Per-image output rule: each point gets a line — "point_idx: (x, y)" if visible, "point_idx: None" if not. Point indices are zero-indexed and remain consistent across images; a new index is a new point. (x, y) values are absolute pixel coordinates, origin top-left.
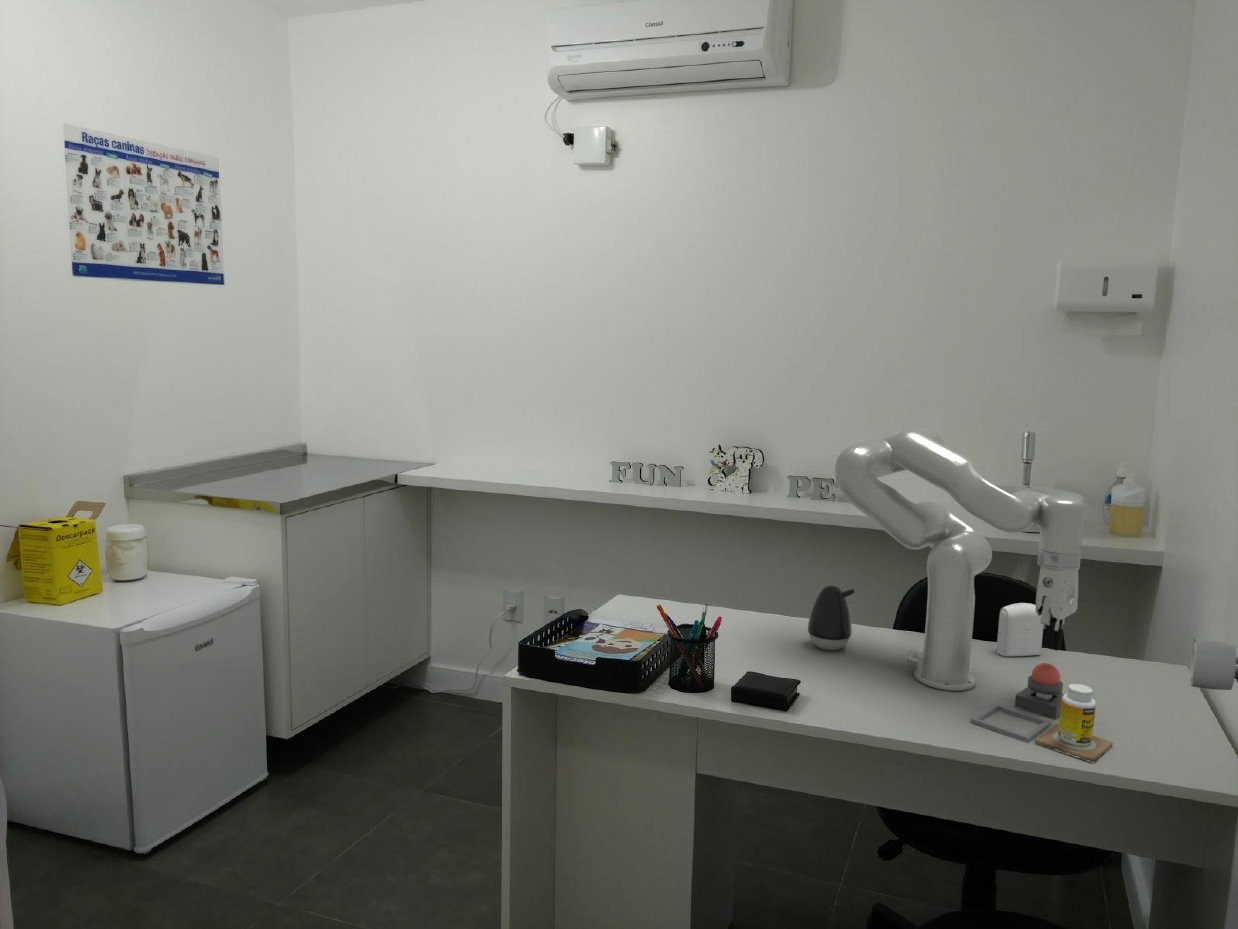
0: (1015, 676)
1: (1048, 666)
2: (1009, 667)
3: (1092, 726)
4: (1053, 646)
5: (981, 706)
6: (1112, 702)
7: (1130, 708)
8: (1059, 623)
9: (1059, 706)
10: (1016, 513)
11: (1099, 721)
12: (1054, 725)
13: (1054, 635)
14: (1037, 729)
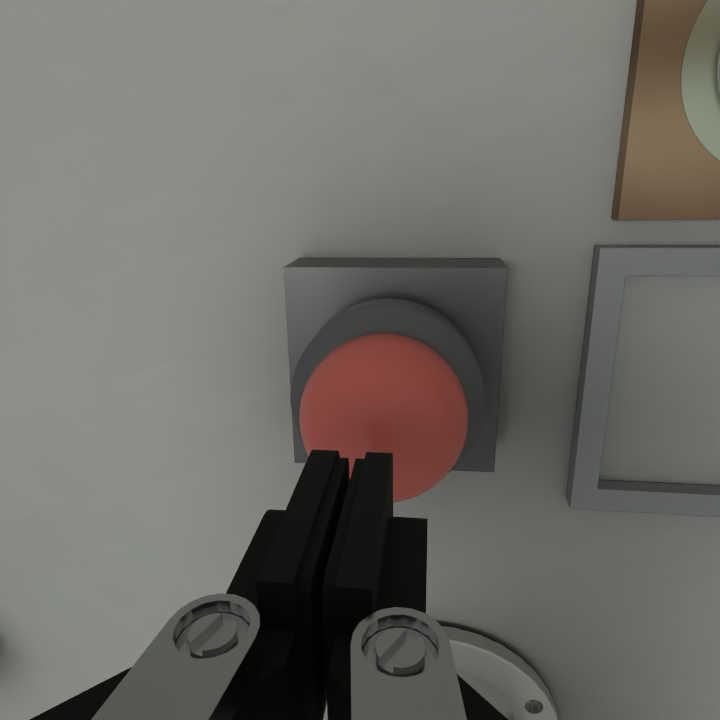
0: (150, 547)
1: (401, 436)
2: (81, 591)
3: None
4: (391, 509)
5: (601, 539)
6: (55, 141)
7: (47, 43)
8: (237, 702)
9: (468, 267)
10: None
11: (347, 92)
12: (647, 218)
13: (411, 595)
14: None
